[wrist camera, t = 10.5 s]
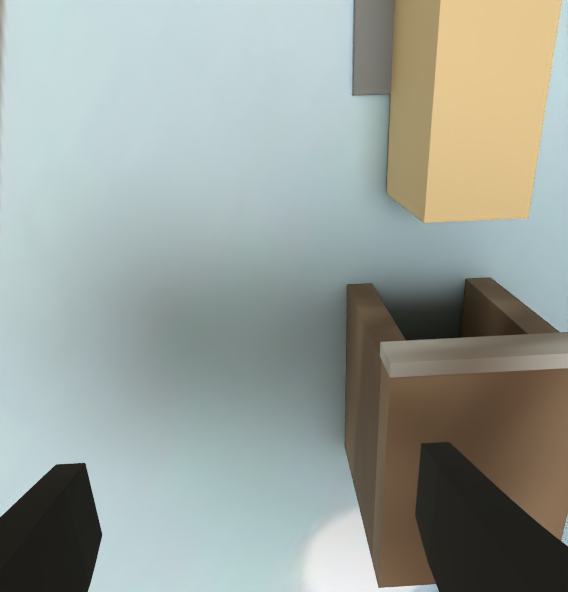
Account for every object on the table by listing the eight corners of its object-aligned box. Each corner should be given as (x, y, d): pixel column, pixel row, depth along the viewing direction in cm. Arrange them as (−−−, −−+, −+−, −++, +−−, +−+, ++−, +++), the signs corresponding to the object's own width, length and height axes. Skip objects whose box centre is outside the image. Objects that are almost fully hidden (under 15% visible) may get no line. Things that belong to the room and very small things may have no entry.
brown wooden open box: (491, 267, 20) (606, 351, 13) (469, 439, 23) (552, 576, 16) (347, 274, 19) (390, 363, 13) (344, 446, 23) (378, 587, 16)
